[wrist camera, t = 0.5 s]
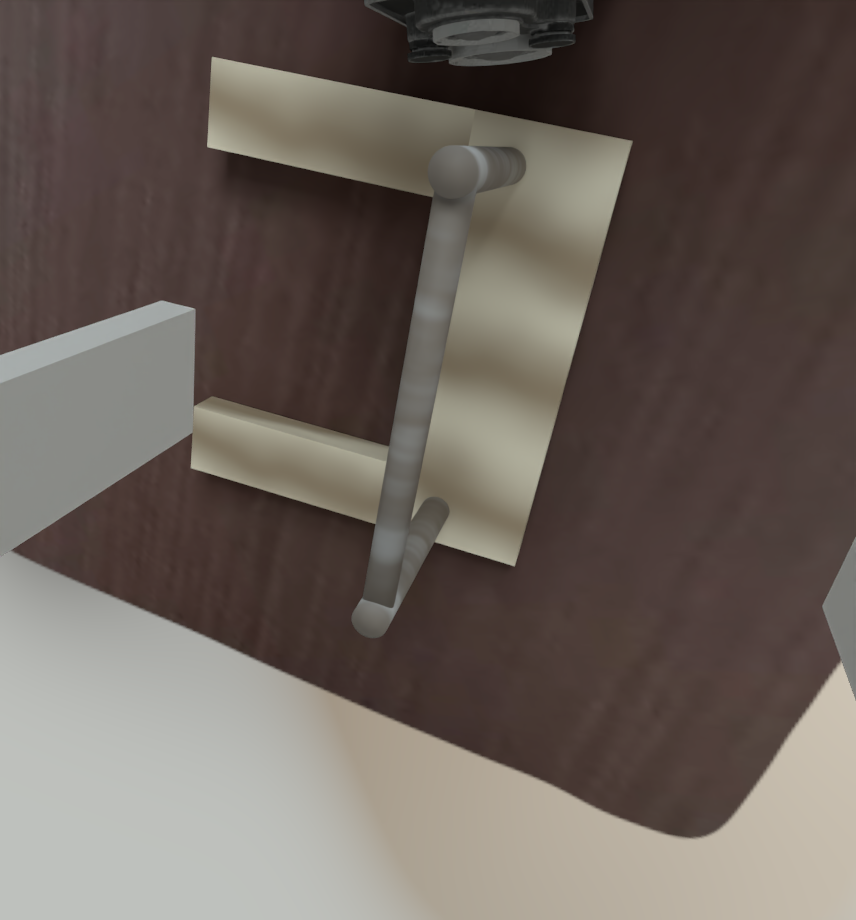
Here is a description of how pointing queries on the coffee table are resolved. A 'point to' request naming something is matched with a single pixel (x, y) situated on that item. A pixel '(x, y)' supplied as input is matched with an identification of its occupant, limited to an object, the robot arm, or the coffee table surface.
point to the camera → (485, 28)
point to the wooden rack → (431, 315)
